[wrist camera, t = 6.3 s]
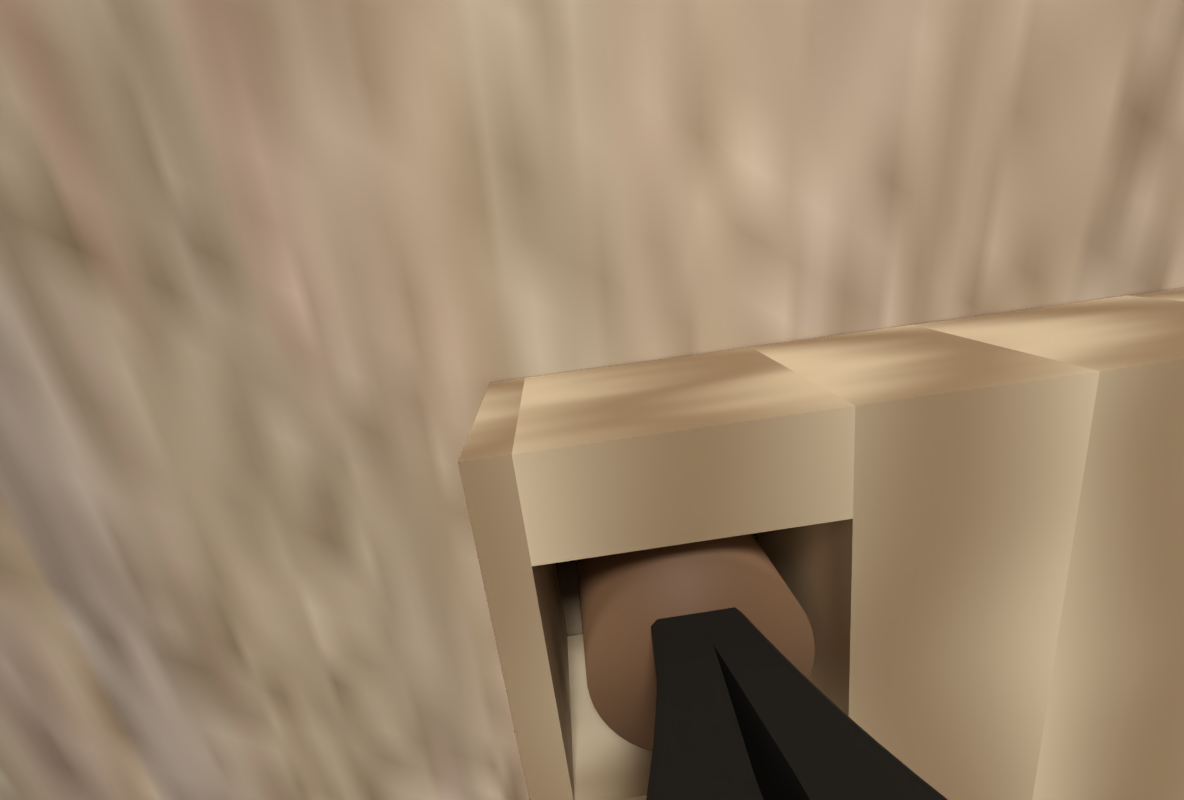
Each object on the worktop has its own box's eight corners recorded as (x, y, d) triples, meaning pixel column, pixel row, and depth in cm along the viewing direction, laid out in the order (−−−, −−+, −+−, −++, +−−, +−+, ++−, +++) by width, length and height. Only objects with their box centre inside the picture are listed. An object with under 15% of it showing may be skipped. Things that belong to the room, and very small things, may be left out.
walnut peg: (736, 457, 11) (813, 548, 8) (743, 602, 12) (815, 737, 9) (565, 482, 11) (571, 586, 8) (587, 626, 12) (600, 772, 9)
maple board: (1206, 284, 11) (1533, 309, 8) (1082, 879, 17) (1239, 1069, 13) (489, 382, 11) (458, 461, 7) (596, 964, 16) (611, 1189, 12)
